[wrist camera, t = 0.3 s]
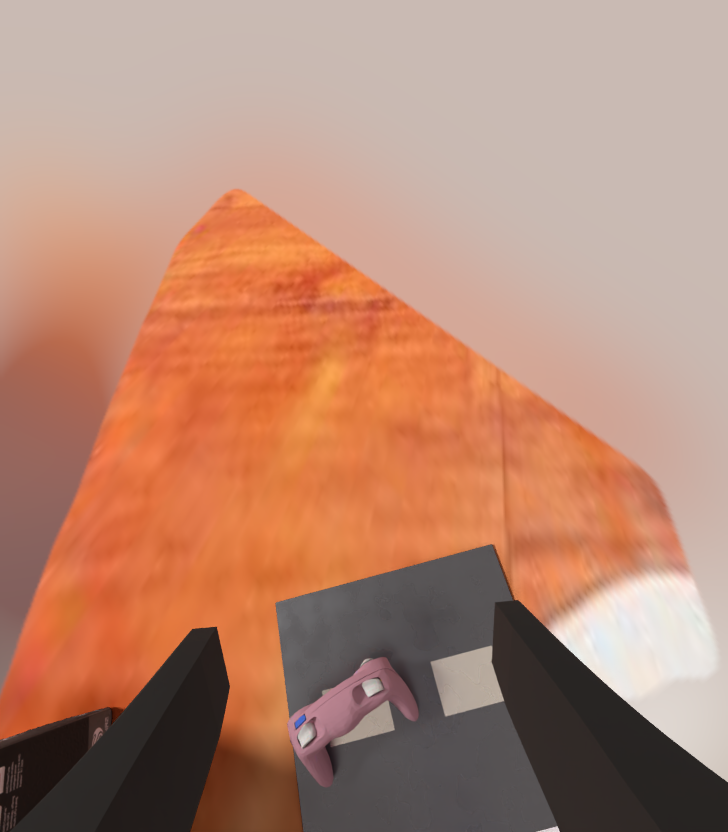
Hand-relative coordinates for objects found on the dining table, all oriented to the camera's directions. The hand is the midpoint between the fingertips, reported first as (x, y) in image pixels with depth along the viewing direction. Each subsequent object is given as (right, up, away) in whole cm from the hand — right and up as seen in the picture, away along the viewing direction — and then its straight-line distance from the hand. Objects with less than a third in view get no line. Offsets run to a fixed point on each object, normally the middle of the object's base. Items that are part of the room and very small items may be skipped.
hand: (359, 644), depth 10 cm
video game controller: (0, -20, +23) cm, 30 cm away
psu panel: (+4, -18, +23) cm, 30 cm away
